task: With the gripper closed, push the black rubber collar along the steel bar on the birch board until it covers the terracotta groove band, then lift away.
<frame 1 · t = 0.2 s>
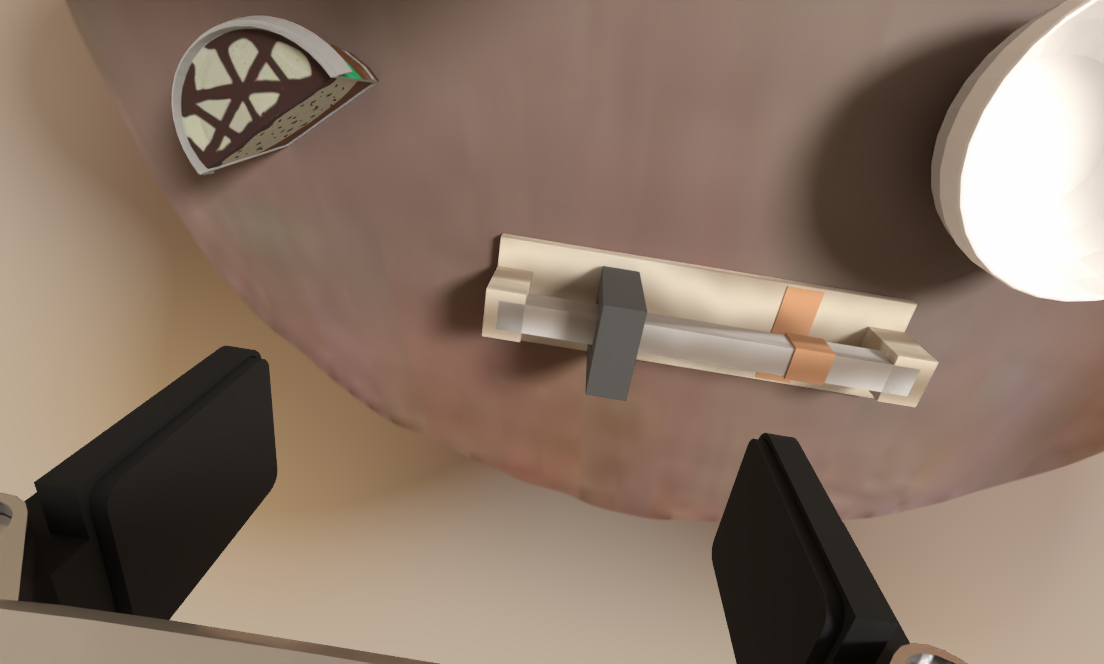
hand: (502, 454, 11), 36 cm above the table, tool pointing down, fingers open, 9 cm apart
pipe rig: (692, 315, 48), on the table
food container: (307, 77, 42), on the table
collar: (613, 330, 43), point 5 cm above the table, slide at 0.0 cm
bowl: (1029, 134, 40), on the table
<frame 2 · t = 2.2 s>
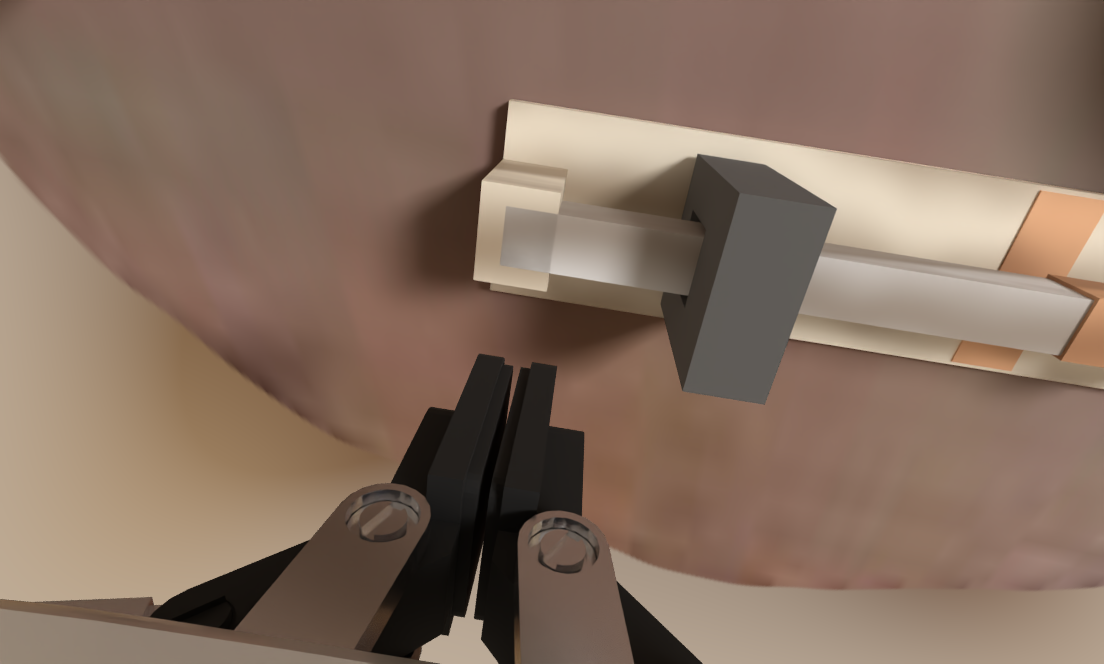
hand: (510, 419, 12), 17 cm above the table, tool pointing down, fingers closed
pipe rig: (846, 253, 27), on the table
collar: (727, 267, 22), point 5 cm above the table, slide at 0.0 cm
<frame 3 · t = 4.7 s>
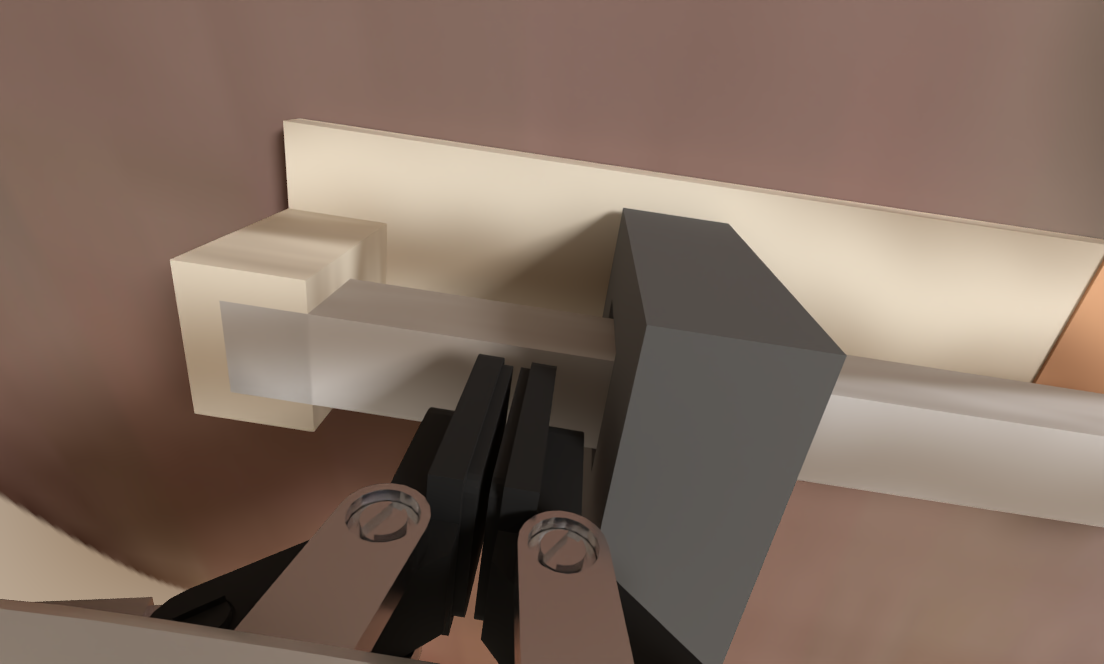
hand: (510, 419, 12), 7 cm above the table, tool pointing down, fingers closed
pipe rig: (814, 338, 19), on the table
collar: (663, 400, 14), point 5 cm above the table, slide at 1.4 cm, touching gripper
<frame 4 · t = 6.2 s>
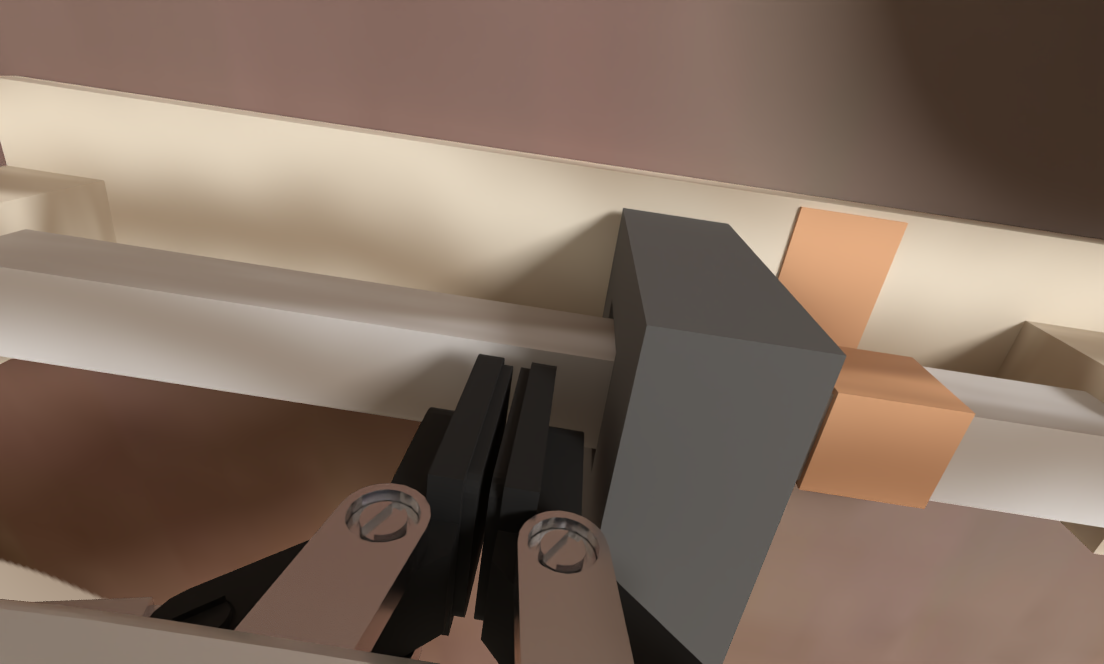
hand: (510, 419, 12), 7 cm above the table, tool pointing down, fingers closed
pipe rig: (554, 299, 19), on the table
collar: (663, 400, 14), point 6 cm above the table, slide at 10.1 cm, touching gripper
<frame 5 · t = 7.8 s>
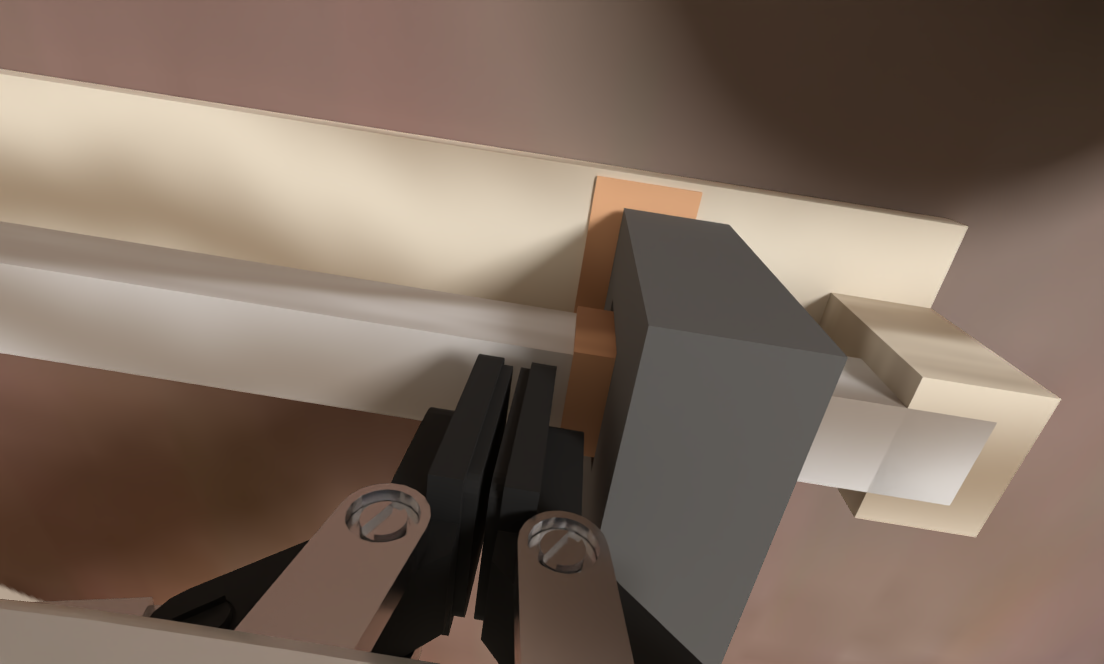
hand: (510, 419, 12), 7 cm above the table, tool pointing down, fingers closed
pipe rig: (381, 271, 19), on the table
collar: (663, 400, 14), point 6 cm above the table, slide at 15.9 cm, touching gripper
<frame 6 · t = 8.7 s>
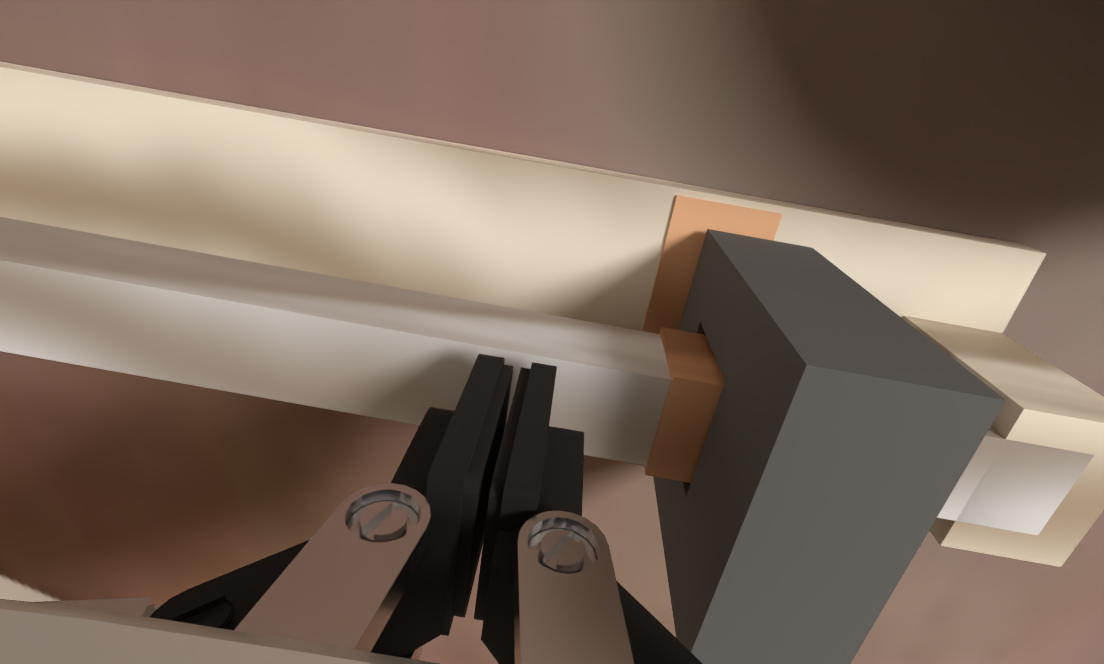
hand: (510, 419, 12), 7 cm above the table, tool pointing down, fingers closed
pipe rig: (446, 284, 19), on the table
collar: (757, 426, 14), point 5 cm above the table, slide at 16.0 cm
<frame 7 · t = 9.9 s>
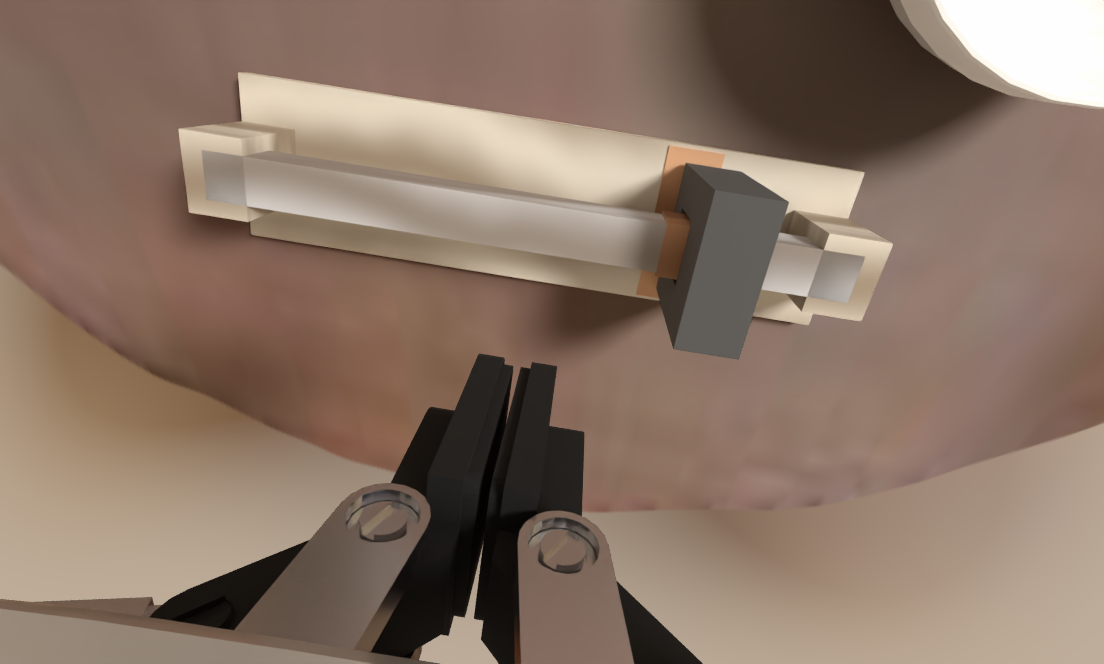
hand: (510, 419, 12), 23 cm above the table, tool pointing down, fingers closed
pipe rig: (540, 202, 33), on the table
collar: (710, 253, 28), point 6 cm above the table, slide at 16.0 cm
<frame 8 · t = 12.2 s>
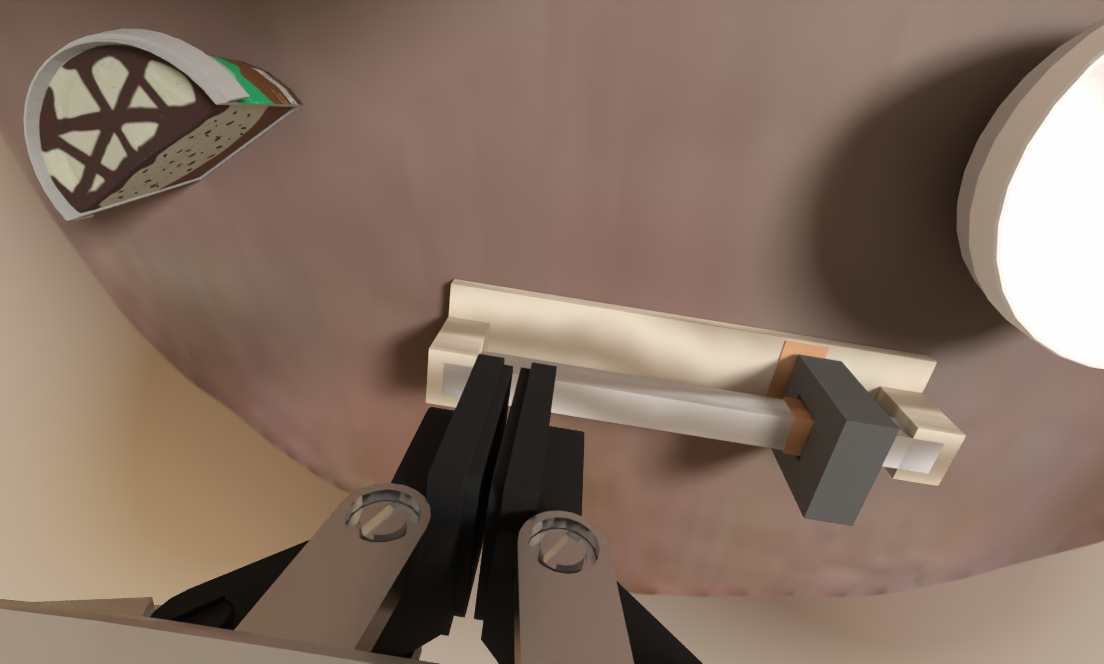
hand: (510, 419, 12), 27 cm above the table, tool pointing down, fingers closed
pipe rig: (676, 372, 42), on the table
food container: (219, 99, 36), on the table
collar: (823, 434, 37), point 6 cm above the table, slide at 16.0 cm
bowl: (1070, 166, 34), on the table
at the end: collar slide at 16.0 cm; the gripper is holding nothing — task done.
